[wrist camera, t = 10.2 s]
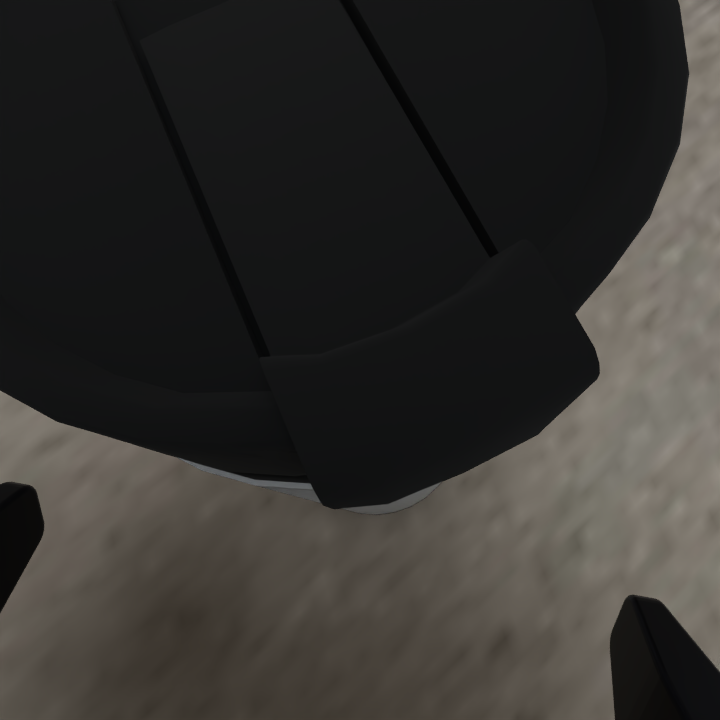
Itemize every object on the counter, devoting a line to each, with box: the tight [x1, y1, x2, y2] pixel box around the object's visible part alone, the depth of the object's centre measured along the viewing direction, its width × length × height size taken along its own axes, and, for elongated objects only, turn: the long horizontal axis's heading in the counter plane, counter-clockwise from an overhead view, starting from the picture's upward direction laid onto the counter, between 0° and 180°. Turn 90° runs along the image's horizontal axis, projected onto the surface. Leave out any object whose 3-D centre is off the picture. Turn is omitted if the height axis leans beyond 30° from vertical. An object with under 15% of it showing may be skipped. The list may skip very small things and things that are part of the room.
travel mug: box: [0, 0, 689, 515], centre depth 14 cm, size 6×7×20 cm
